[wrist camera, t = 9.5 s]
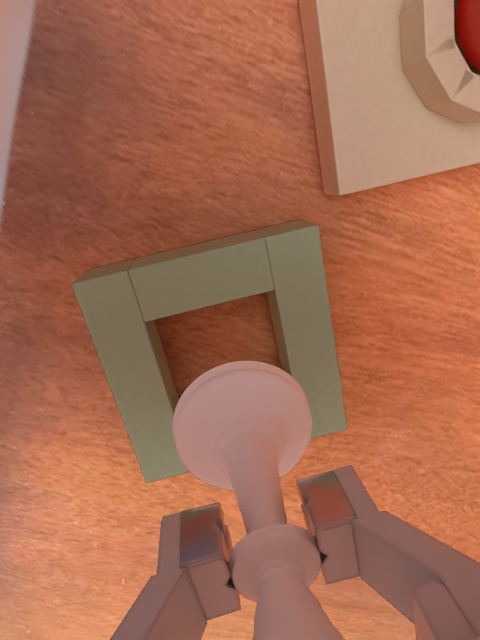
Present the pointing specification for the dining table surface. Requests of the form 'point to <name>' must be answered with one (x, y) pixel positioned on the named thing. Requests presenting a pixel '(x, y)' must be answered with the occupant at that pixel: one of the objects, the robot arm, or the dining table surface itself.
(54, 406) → the dining table surface
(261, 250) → the dock
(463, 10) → the button
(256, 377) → the chess piece
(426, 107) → the panel
